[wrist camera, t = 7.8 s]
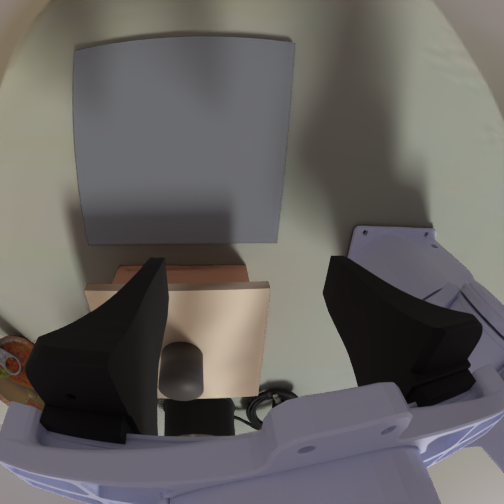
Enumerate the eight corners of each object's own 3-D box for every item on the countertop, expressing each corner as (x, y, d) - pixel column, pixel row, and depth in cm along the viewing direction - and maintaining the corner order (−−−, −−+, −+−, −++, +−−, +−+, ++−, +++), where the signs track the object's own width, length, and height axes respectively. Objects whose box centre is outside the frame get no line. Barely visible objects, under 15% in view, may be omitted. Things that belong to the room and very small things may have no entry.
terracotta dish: (245, 264, 25) (253, 299, 21) (240, 351, 30) (245, 386, 26) (119, 265, 23) (105, 299, 19) (139, 352, 28) (133, 386, 24)
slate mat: (293, 43, 17) (295, 42, 16) (275, 240, 24) (276, 243, 23) (77, 51, 14) (74, 50, 14) (90, 242, 22) (88, 244, 21)
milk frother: (148, 403, 33) (142, 509, 20) (242, 351, 30) (264, 487, 17) (222, 437, 40) (231, 523, 27) (310, 397, 36) (339, 494, 24)
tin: (103, 392, 32) (92, 448, 24) (92, 398, 32) (81, 452, 25) (7, 320, 25) (-23, 374, 17) (0, 331, 25) (-27, 382, 18)
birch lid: (268, 281, 20) (280, 321, 17) (257, 389, 26) (263, 424, 23) (87, 283, 18) (69, 322, 15) (126, 389, 25) (120, 424, 21)
